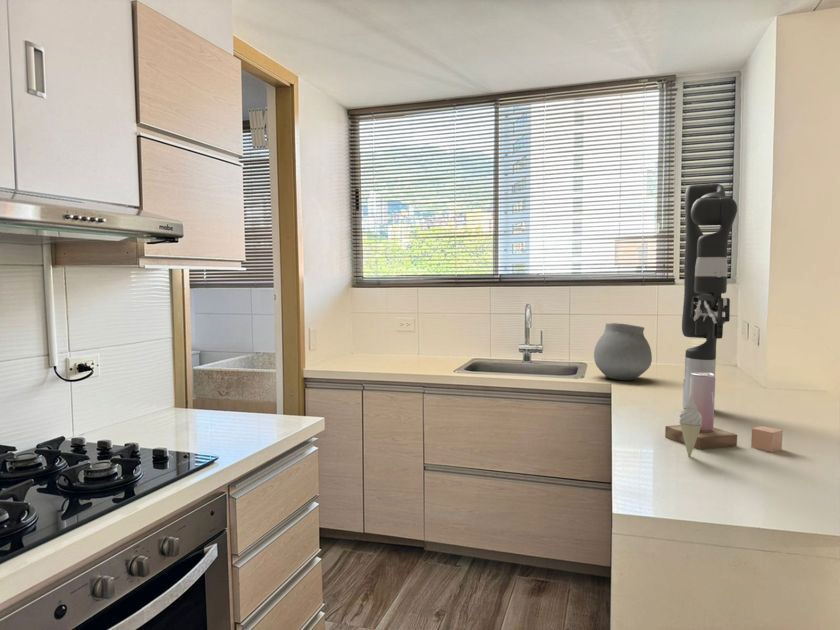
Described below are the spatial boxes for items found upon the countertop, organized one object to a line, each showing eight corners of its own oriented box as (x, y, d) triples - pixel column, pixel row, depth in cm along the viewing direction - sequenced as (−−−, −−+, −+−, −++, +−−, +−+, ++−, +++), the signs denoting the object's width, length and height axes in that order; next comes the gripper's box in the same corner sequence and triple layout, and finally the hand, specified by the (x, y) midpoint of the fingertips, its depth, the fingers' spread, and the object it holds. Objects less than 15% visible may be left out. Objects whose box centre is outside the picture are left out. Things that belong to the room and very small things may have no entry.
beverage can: (691, 426, 152) (693, 371, 151) (715, 429, 148) (718, 373, 147) (685, 430, 147) (687, 373, 146) (710, 434, 143) (712, 376, 143)
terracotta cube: (751, 447, 143) (751, 428, 143) (760, 444, 146) (761, 425, 145) (771, 452, 139) (772, 432, 138) (781, 449, 141) (782, 430, 141)
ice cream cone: (674, 456, 134) (677, 394, 133) (682, 451, 138) (685, 391, 137) (696, 460, 130) (699, 397, 130) (704, 456, 134) (706, 394, 133)
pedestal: (665, 436, 151) (665, 426, 151) (700, 434, 155) (700, 423, 155) (699, 449, 140) (700, 437, 140) (736, 446, 144) (737, 434, 143)
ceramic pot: (657, 385, 235) (659, 326, 234) (597, 382, 239) (599, 324, 238) (643, 376, 259) (645, 322, 258) (589, 373, 263) (591, 321, 262)
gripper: (682, 275, 153) (680, 334, 154) (712, 274, 139) (709, 339, 140) (709, 275, 153) (707, 334, 154) (741, 275, 139) (738, 339, 140)
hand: (708, 336), depth 147 cm, fingers open, 8 cm apart
